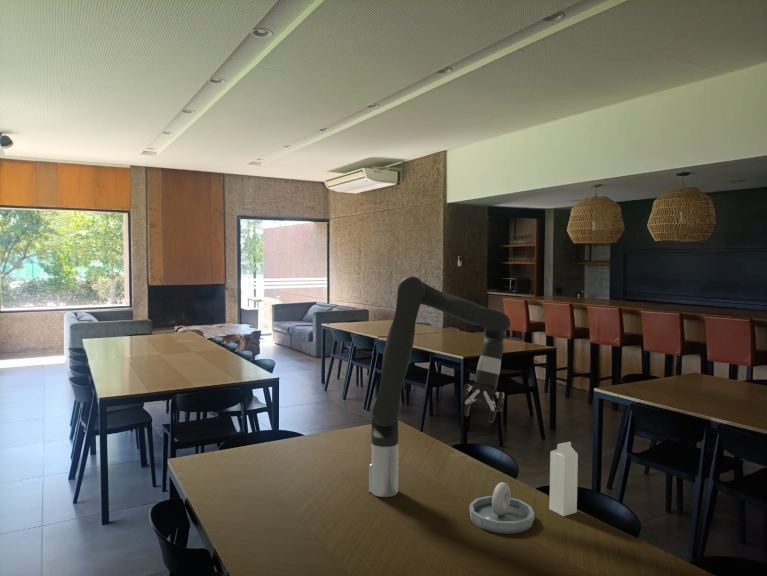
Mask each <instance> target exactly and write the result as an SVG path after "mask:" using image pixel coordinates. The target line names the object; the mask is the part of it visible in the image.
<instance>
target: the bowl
mask: <svg viewBox="0 0 767 576" xmlns="http://www.w3.org/2000/svg"><path fill="white" fill-rule="evenodd" d="M492 497H493V495H488V496H487V495H486V496H482V497H478V498H475V499H474V500H473V501H472V502H471V503H469V516H470V517H469V518H470V521H471V522H472V523H473V524H474V525H475V526H477V527H479V528H480V529H483V530H484V529H485V530H484V531H487V532H491V533H497V534H502V535H503V534H504V535H505V534H506V535H507V534H508V535H509V534H510V535H511V534H513V535H514V534H519V533H523V532H527V531H528V530H530V529H531V528H532V527H533V524H534V521H535V512H534V510H533V507H532V506H531V505H529V504H528V503H526V502H524V501H522V500H521V499H517V498H513V497H510V504H509V508H508V510H507V512H506V513H505V514H504V515H503V516H498V515H496V514H495V513H494V511H493V508H492Z"/></svg>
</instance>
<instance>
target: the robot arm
mask: <svg viewBox="0 0 767 576" xmlns="http://www.w3.org/2000/svg"><path fill="white" fill-rule="evenodd" d="M396 294H397V296H396V297H397V298H396V304H395V311H394V315H393V319H392V322H391V325H390V327H389V330H388V334H387V338H386V341H385V345H384V351H383V355H382V361H381V373H380V374H381V376H380V383H379V384H380V385H379V389H378V392H377V396H376V397H375V399H374V400H373V402H372V404H371V432H370V433H371V463H370V464H369V465H368V492H369V493H371V494H372V495H373V496H376V497H380V498H390V497H394V496H396V495H397V494H398V493H399V414H400V401H401V396H402V395H401V394H402V388H403V385H404V382H405V378H406V375H407V372H408V369H409V365H410V362H411V356H412V353H413V352H412V351H413V347H414V342H415V333H416V322H417V317H418V313H419V310H420V307H421V305H423V306H427V307H430V308H433V309H435V310H438V311H440V312H442V313H444V314H446V315H449V316H450V317H454V318H455V319H457V320H460V321H463V322H465V323H466V324H467V323H468V324H470V325H475V326H480V327H482V328H484V332H483V341H482V342H483V343H482V347H481V352H480V356H479V359H478V362H477V367H476V371H475V376H474V382H473V385H470V384H468V383H464V386H463V388H462V392H461V396H460V402H463V403H464V409H463V415H464V416H465V417H469V415H470V412H471V404H473V403H474V402H475V401H480V402H485V403H487V404H488V406H489V407H490V411H489V416H488V421H487V422H488V423H490V424H492V423H493V422H495V419H496V414H497V412H502V411H504V403H505V396H506V394H505V392H503V391H502V392H501V391H500V392H499V391H497V387H498V382H499V378H500V377H499V376H500V373H501V365H502V358H503V353H504V344H503V340H504V336H505V335H504V334H505V332H507V331H508V330H509V329H510V326H511V319H510V317H509V316H508V315H507V314H506V313H504V312H503V311H499V310H496V309H493V308H488V307H485V306H483V305H480V304H478V303H476V302H472V301H470V300H468V299H464V298H462V297H459V296H456V295H453V294H449V293H446V292H444V291H441V290H438V289H436V288H434V287H433V286H430V285H428V284H427V283H425V282H423V281H422V280H421V279H420V278H419V277H417V276H411V275H410V276H406V277H404V278H402V279H401V280H400V282H399V283H398V285H397V293H396ZM471 391H472V393H471V395H469V392H471ZM495 397H496V399H497V404H496V402H495V400H494V398H495Z"/></svg>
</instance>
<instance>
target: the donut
mask: <svg viewBox="0 0 767 576" xmlns="http://www.w3.org/2000/svg"><path fill="white" fill-rule="evenodd" d="M492 493H493V494H492V496H493V497H492V508H493V511H494V513H495V514H496V515H498V516H503V515H504V514H505V513H506V512H507V510H508V508H509V504H510V498H512V497H511V488H510V485H509V484H508V483H506V482H498V483H497V485H496V486H495V488H494V490H493V492H492Z"/></svg>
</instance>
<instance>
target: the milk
mask: <svg viewBox="0 0 767 576" xmlns="http://www.w3.org/2000/svg"><path fill="white" fill-rule="evenodd" d="M556 445H557V446H556V449H554V450H551V451H550V452H549V453H550V455H549V456H550V458H549V464H550V466H549V507H548V508H549V510H550V511H552V512H554V513H556V514H558V515H560V516H562V517H566V516H569V515H572V514H576V513H577V511H578V509H577V507H578V504H577V503H578V473H579V472H578V468H579V466H578V463H579V462H578V459H579V454H578V452H577V451H576V450H575V449H574V448H573V446H572V441H567V442H562V443H558V444H556Z"/></svg>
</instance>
